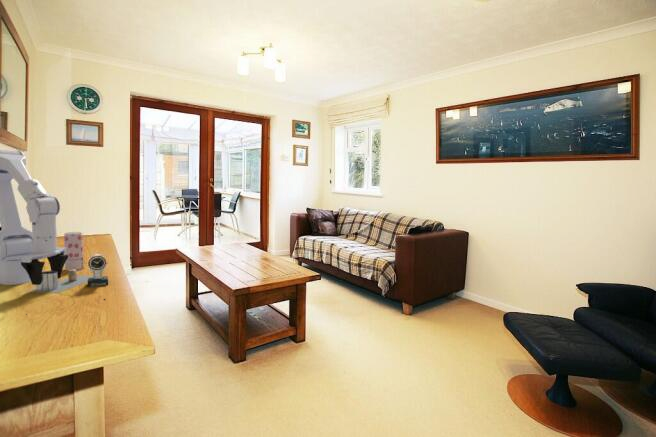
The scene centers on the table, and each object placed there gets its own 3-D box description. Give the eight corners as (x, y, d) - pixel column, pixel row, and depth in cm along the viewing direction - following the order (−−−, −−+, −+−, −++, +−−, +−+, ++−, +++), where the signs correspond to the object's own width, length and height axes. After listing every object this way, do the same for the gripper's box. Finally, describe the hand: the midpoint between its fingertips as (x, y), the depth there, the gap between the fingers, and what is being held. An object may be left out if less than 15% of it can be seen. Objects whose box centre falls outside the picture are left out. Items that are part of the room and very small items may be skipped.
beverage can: (62, 272, 135) (61, 232, 133) (79, 269, 139) (78, 231, 138) (69, 274, 132) (67, 234, 130) (86, 271, 136) (85, 232, 135)
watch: (87, 292, 111) (86, 257, 110) (88, 285, 118) (87, 252, 117) (108, 290, 114) (107, 255, 113) (108, 283, 121) (107, 251, 120)
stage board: (27, 295, 107) (27, 291, 106) (76, 278, 126) (75, 275, 126) (57, 296, 106) (57, 292, 106) (101, 279, 126) (101, 276, 126)
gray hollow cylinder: (31, 291, 107) (30, 274, 107) (45, 286, 113) (44, 270, 112) (48, 291, 107) (48, 275, 107) (62, 286, 112) (61, 271, 112)
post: (67, 281, 118) (66, 270, 118) (71, 279, 120) (71, 269, 120) (73, 281, 118) (73, 271, 118) (78, 280, 120) (78, 269, 120)
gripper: (38, 240, 101) (40, 287, 102) (75, 234, 116) (76, 275, 117) (13, 240, 101) (16, 287, 102) (53, 233, 116) (55, 275, 117)
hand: (46, 281), depth 110 cm, fingers open, 7 cm apart
